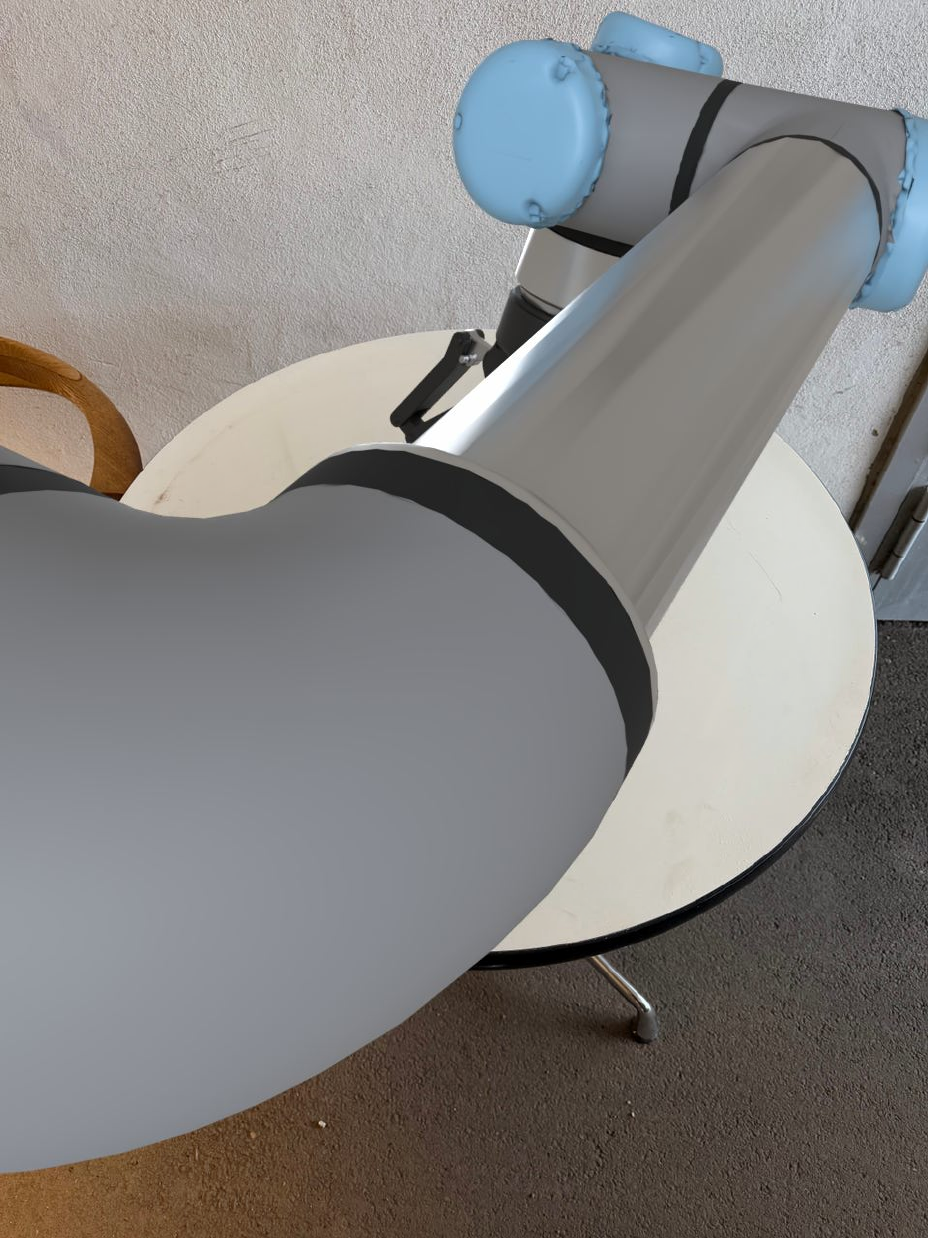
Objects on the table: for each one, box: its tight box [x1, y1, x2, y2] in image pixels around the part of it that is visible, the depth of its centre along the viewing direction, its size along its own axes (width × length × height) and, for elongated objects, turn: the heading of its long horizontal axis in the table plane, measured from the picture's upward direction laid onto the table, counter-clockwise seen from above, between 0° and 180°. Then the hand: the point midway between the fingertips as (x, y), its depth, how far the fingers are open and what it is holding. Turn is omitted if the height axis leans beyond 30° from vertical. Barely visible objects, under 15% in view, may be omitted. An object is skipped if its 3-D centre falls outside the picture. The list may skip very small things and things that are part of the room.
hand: (469, 561), depth 68 cm, fingers open, 13 cm apart
